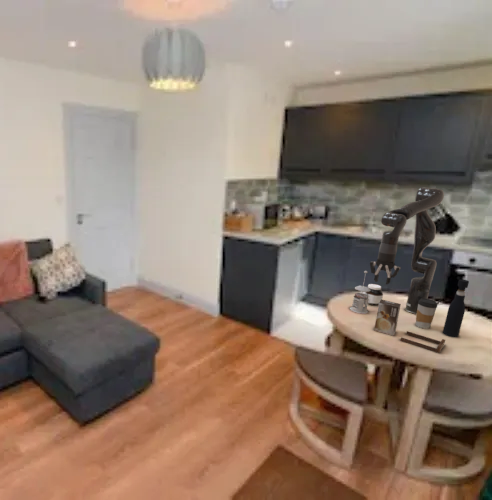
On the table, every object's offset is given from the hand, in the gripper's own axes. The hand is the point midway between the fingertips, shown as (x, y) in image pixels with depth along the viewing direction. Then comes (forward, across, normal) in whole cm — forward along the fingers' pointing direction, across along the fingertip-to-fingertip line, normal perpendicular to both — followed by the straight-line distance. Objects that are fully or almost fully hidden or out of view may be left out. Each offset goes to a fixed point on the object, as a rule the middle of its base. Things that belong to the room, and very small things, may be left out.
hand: (381, 282), depth 193 cm
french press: (+26, +12, -16) cm, 32 cm away
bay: (+25, -22, +2) cm, 34 cm away
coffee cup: (+26, -18, -20) cm, 37 cm away
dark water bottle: (+26, -30, -20) cm, 44 cm away
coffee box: (+26, -6, +2) cm, 26 cm away
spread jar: (+26, +13, -33) cm, 44 cm away
